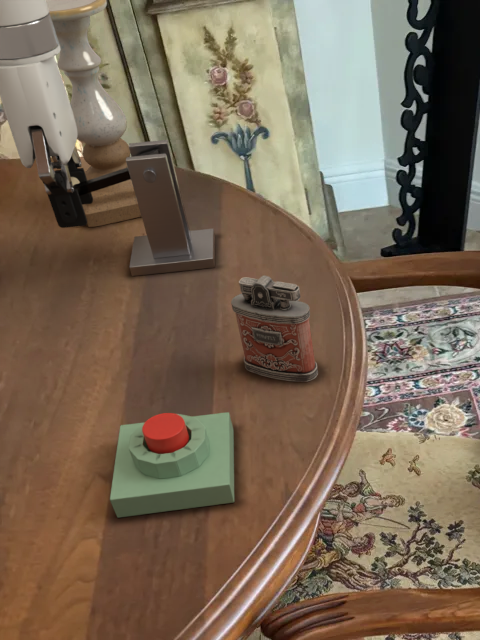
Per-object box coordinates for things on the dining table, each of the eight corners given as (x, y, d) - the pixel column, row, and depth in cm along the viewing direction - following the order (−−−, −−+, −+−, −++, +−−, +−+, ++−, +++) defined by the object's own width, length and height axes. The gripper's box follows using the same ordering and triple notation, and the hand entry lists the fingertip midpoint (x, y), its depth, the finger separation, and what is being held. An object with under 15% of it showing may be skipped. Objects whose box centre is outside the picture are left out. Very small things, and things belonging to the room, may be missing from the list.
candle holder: (88, 228, 104) (16, 19, 86) (76, 196, 111) (7, -4, 93) (169, 210, 107) (116, 4, 89) (152, 180, 114) (100, -17, 96)
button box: (117, 518, 67) (102, 484, 64) (126, 443, 74) (114, 409, 71) (234, 502, 68) (225, 468, 65) (233, 430, 75) (225, 396, 72)
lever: (67, 213, 90) (55, 193, 88) (72, 195, 93) (61, 175, 92) (166, 181, 89) (156, 160, 87) (168, 163, 93) (159, 143, 91)
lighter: (239, 371, 81) (219, 282, 74) (254, 353, 83) (236, 265, 76) (309, 385, 79) (296, 296, 72) (323, 366, 81) (311, 277, 74)
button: (146, 457, 67) (140, 441, 66) (148, 430, 69) (143, 415, 68) (188, 452, 67) (183, 436, 66) (189, 425, 70) (185, 410, 68)
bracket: (132, 276, 95) (98, 168, 86) (136, 245, 100) (105, 140, 91) (214, 267, 96) (190, 159, 86) (215, 237, 101) (192, 132, 92)
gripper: (-5, 17, 85) (55, 187, 98) (-40, 67, 73) (32, 251, 87) (67, 13, 85) (116, 182, 99) (42, 61, 74) (102, 245, 87)
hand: (76, 212), depth 93 cm, fingers closed on lever, 5 cm apart
